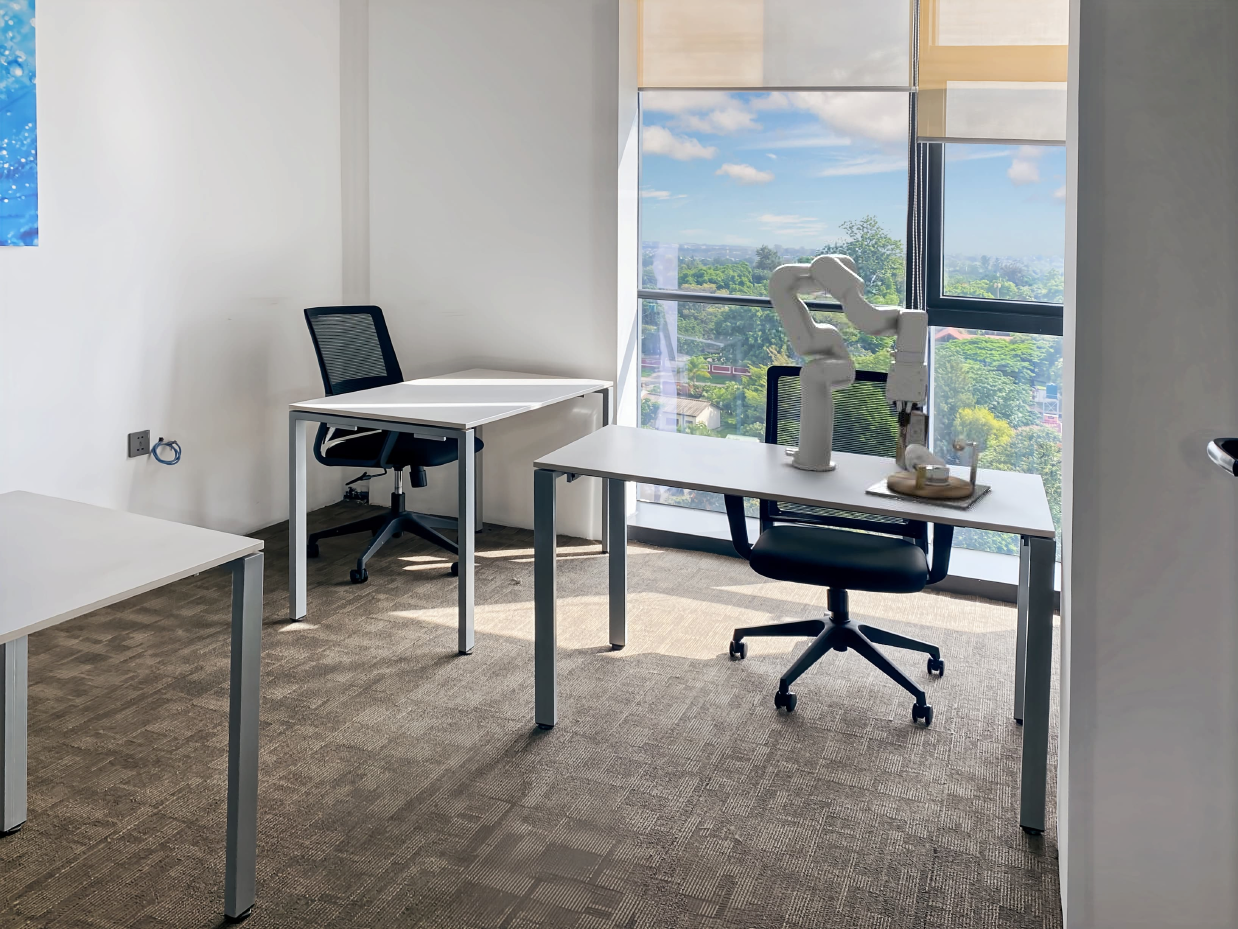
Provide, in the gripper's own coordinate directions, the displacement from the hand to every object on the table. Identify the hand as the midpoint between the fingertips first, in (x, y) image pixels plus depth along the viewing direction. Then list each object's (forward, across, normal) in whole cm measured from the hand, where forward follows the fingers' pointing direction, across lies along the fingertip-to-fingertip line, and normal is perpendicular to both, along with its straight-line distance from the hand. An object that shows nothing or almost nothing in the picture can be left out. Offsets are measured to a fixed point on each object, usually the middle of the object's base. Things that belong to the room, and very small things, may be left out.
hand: (903, 426), depth 278 cm
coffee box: (+17, -5, +29) cm, 34 cm away
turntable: (+16, +8, +1) cm, 18 cm away
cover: (+14, +9, +1) cm, 17 cm away
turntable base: (+17, +8, +2) cm, 19 cm away
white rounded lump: (+17, +1, +22) cm, 28 cm away
